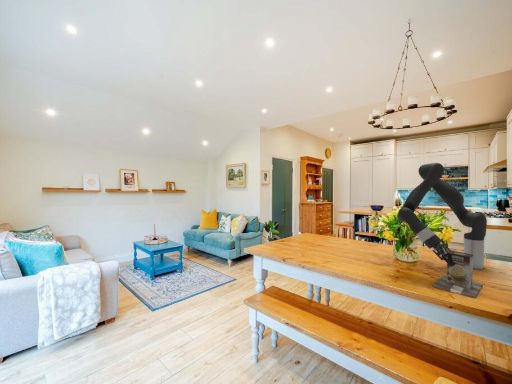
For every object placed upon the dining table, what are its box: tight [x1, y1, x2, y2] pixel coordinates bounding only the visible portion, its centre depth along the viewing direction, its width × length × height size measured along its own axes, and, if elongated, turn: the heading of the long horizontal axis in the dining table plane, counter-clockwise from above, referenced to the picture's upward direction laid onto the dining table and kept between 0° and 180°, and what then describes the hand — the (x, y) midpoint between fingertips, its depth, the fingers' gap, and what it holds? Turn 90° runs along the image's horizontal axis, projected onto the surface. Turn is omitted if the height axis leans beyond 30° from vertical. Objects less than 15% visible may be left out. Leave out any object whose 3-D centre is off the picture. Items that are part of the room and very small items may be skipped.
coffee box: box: [446, 249, 474, 289], centre depth 118 cm, size 9×6×16 cm
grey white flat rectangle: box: [432, 274, 484, 299], centre depth 119 cm, size 20×16×1 cm
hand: (455, 263), depth 119 cm, fingers open, 8 cm apart
